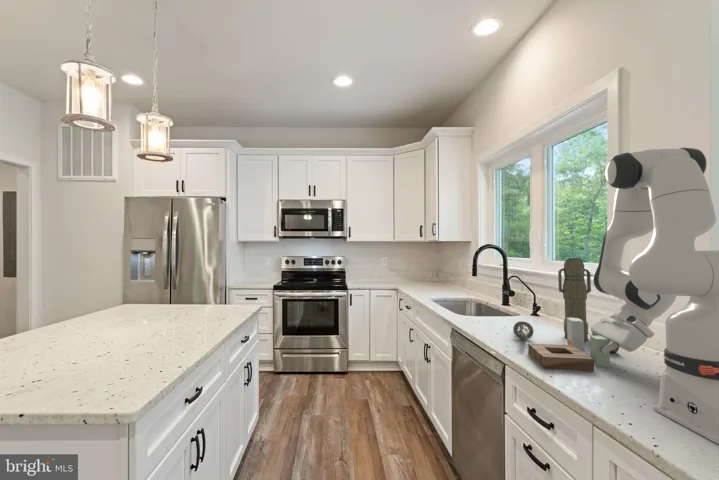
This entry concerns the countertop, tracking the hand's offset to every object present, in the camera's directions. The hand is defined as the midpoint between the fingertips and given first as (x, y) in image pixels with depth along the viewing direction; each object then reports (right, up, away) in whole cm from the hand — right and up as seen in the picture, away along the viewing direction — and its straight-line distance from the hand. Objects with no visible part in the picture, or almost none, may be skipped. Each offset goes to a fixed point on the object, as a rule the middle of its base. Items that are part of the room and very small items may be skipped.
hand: (597, 349), depth 111 cm
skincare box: (+2, -5, +15) cm, 16 cm away
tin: (+15, -5, +17) cm, 23 cm away
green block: (+1, -5, 0) cm, 5 cm away
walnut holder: (-12, -5, +2) cm, 13 cm away
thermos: (+14, -6, +31) cm, 34 cm away
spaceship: (-10, -6, +30) cm, 32 cm away
